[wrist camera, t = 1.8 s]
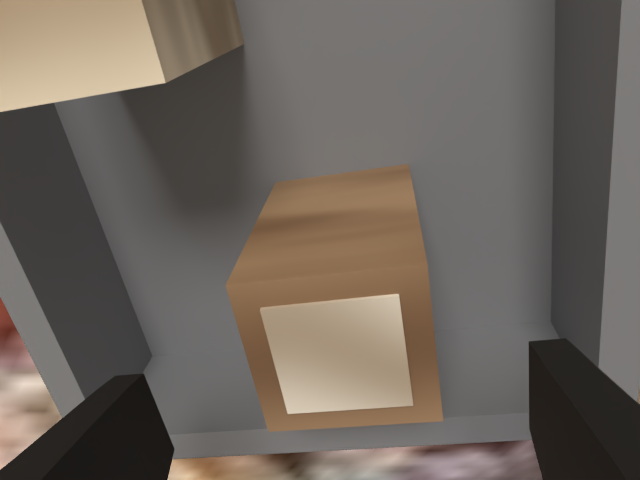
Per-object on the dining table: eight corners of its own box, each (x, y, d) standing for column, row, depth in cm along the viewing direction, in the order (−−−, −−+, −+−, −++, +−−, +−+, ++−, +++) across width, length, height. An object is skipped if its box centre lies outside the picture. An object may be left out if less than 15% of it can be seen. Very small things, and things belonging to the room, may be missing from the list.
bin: (575, 332, 18) (634, 434, 14) (142, 368, 20) (86, 463, 16) (605, -413, 10) (752, -662, 6) (-91, -208, 13) (-302, -292, 9)
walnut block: (421, 281, 17) (443, 424, 12) (300, 294, 18) (267, 435, 12) (408, 163, 15) (427, 266, 10) (275, 182, 16) (223, 288, 10)
